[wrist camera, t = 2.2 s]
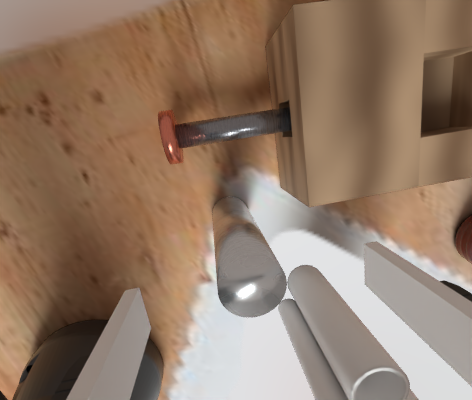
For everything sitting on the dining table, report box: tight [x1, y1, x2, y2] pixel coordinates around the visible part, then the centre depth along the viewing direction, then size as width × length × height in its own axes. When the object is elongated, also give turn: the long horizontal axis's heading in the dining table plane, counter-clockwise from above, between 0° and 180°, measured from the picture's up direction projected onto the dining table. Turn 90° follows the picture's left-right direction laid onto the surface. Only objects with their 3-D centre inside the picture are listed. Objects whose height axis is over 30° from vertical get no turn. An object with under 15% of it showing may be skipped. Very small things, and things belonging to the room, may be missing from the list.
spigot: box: [212, 197, 287, 317], centre depth 21 cm, size 4×4×14 cm
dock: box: [265, 0, 472, 207], centre depth 23 cm, size 17×14×8 cm
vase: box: [278, 265, 418, 400], centre depth 22 cm, size 11×7×20 cm, turn 35°
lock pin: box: [158, 107, 292, 164], centre depth 22 cm, size 14×4×4 cm, turn 99°
